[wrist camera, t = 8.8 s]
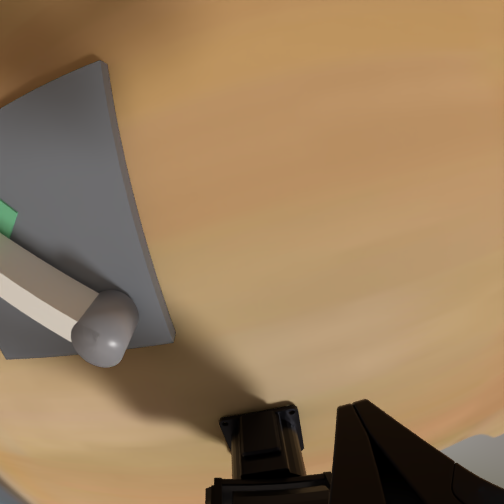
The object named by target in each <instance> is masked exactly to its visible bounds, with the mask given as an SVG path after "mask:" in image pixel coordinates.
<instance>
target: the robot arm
mask: <svg viewBox="0 0 504 504" xmlns="http://www.w3.org/2000/svg"><path fill="white" fill-rule="evenodd" d="M224 422H226V423H224ZM219 425H220V427H221V430H222V432H223V434H224V437H225V439H226V441H227V444H228V446H229V448H230V450H231V454H232V479H222V478H214V485H212V486H211V487H209V488H206V500H205V504H504V489H503V488H501V487H499V486H496V485H494V484H492V483H490V482H488V481H486V480H484V479H482V478H480V477H479V476H477V475H475V474H473V473H472V472H470V471H468V470H467V469H465V468H464V467H462V466H461V465H459V464H458V463H455V462H454V461H453V460H452V459H450V458H449V457H447V456H446V455H444V454H443V453H442V452H440V451H439V450H437V449H436V448H434V447H433V446H431V445H430V444H429V443H427V442H426V441H424V440H423V439H421V438H420V437H419V436H417V435H416V434H414V433H413V432H411V431H410V430H409V429H407V428H406V427H404V426H403V425H402V424H400V423H399V422H397V421H396V420H395V419H393V418H392V417H391V416H389V415H388V414H386V413H385V412H384V411H382V410H381V409H380V408H378V407H377V406H376V405H374V404H373V403H371V402H370V401H369V400H367V399H363V400H360V401H356V402H354V403H352V404H346V405H342V406H339V407H338V408H337V417H336V431H335V444H334V456H333V466H332V473H331V472H323V474H314V475H306V471H305V466H304V462H303V457H302V453H301V451H302V450H303V449H304V445H303V438H302V432H301V426H300V420H299V413H298V409H297V406H295V405H290V406H285V407H280V408H275V409H270V410H264V411H259V412H253V413H247V414H241V415H234V416H227V417H222V418H220V420H219Z"/></svg>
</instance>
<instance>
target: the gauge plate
mask: <svg viewBox="0 0 504 504" xmlns="http://www.w3.org/2000/svg"><path fill="white" fill-rule="evenodd" d="M0 233H1V234H3V235H4V236H6V237H7V238H9V239H10V240H12V241H13V242H15V243H16V244H18V245H19V246H21V247H22V248H24V249H25V250H27V251H29V252H30V253H32V254H33V255H35V256H36V257H38V258H40V259H41V260H43V261H44V262H46V263H48V264H49V265H51V266H53V267H54V268H56V269H58V270H59V271H61V272H63V273H64V274H66V275H68V276H69V277H71V278H73V279H75V280H76V281H78V282H80V283H82V284H83V285H85V286H87V287H89V288H90V289H92V290H94V291H96V292H98V293H100V292H102V291H105V290H116V291H120V292H122V293H124V294H126V295H127V296H128V297H129V298H131V299H132V301H133V302H134V303H135V305H136V307H137V309H138V313H139V321H138V324H137V326H136V328H135V331H134V333H133V335H132V337H131V339H130V342H129V344H128V346H127V348H126V349H132V348H140V347H147V346H155V345H162V344H168V343H173V342H174V338H175V334H176V332H175V329H174V326H173V324H172V321H171V318H170V315H169V312H168V309H167V306H166V303H165V300H164V297H163V294H162V291H161V288H160V285H159V282H158V279H157V276H156V272H155V269H154V266H153V263H152V259H151V256H150V253H149V249H148V246H147V242H146V239H145V235H144V232H143V228H142V225H141V221H140V217H139V214H138V210H137V206H136V202H135V198H134V194H133V190H132V186H131V182H130V178H129V174H128V170H127V165H126V161H125V157H124V152H123V147H122V143H121V138H120V133H119V128H118V123H117V118H116V113H115V107H114V102H113V96H112V90H111V84H110V78H109V72H108V65H107V64H106V63H104V62H103V61H101V60H99V61H97V62H94V63H92V64H89V65H87V66H84V67H82V68H79V69H77V70H75V71H72V72H70V73H68V74H66V75H63V76H61V77H59V78H57V79H55V80H53V81H51V82H49V83H47V84H45V85H43V86H41V87H39V88H37V89H35V90H33V91H31V92H29V93H27V94H25V95H23V96H22V97H20V98H18V99H16V100H14V101H13V102H11V103H9V104H7V105H6V106H4V107H2V108H1V109H0ZM0 349H1V351H2V353H3V355H4V357H5V358H6V360H7V359H26V358H42V357H55V356H67V355H78V353H77V352H76V350H75V348H74V347H73V344H72V342H70V341H68V340H67V339H65V338H63V337H62V336H60V335H58V334H56V333H55V332H53V331H51V330H50V329H48V328H46V327H45V326H43V325H42V324H40V323H38V322H37V321H35V320H34V319H32V318H31V317H29V316H28V315H26V314H24V313H23V312H21V311H20V310H18V309H17V308H16V307H14V306H13V305H11V304H10V303H8V302H7V301H5V300H4V299H3V298H1V297H0Z"/></svg>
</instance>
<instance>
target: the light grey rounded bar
mask: <svg viewBox="0 0 504 504" xmlns="http://www.w3.org/2000/svg"><path fill="white" fill-rule="evenodd" d="M0 297H1V298H3V299H4V300H5V301H7V302H8V303H10V304H11V305H13V306H14V307H16V308H17V309H18V310H20V311H21V312H23V313H24V314H26V315H28V316H29V317H31V318H32V319H34V320H35V321H37V322H38V323H40V324H42V325H43V326H45V327H46V328H48V329H50V330H51V331H53V332H55V333H56V334H58V335H60V336H62V337H63V338H65V339H67V340H68V341H70V342H72V344H73V347H74V348H75V350H76V352H77V353H78V354H79V355H80V356H81V357H82V358H83V359H84V360H86V361H87V362H89V363H90V364H92V365H95V366H98V367H112V366H115V365H116V364H118V363H119V362H120V361H121V359H122V357H123V355H124V353H125V351H126V348H127V346H128V344H129V342H130V339H131V337H132V335H133V333H134V331H135V328H136V326H137V324H138V321H139V313H138V309H137V307H136V305H135V303H134V302H133V301H132V299H131V298H129V297H128V296H127V295H126V294H124V293H122V292H120V291H116V290H105V291H102V292H100V293H98V292H96V291H94V290H92V289H90V288H89V287H87V286H85V285H83V284H82V283H80V282H78V281H76V280H75V279H73V278H71V277H69V276H68V275H66V274H64V273H63V272H61V271H59V270H58V269H56V268H54V267H53V266H51V265H49V264H48V263H46V262H44V261H43V260H41V259H40V258H38V257H36V256H35V255H33V254H32V253H30V252H29V251H27V250H25V249H24V248H22V247H21V246H19V245H18V244H16V243H15V242H13V241H12V240H10V239H9V238H7V237H6V236H4V235H3V234H1V233H0Z"/></svg>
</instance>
